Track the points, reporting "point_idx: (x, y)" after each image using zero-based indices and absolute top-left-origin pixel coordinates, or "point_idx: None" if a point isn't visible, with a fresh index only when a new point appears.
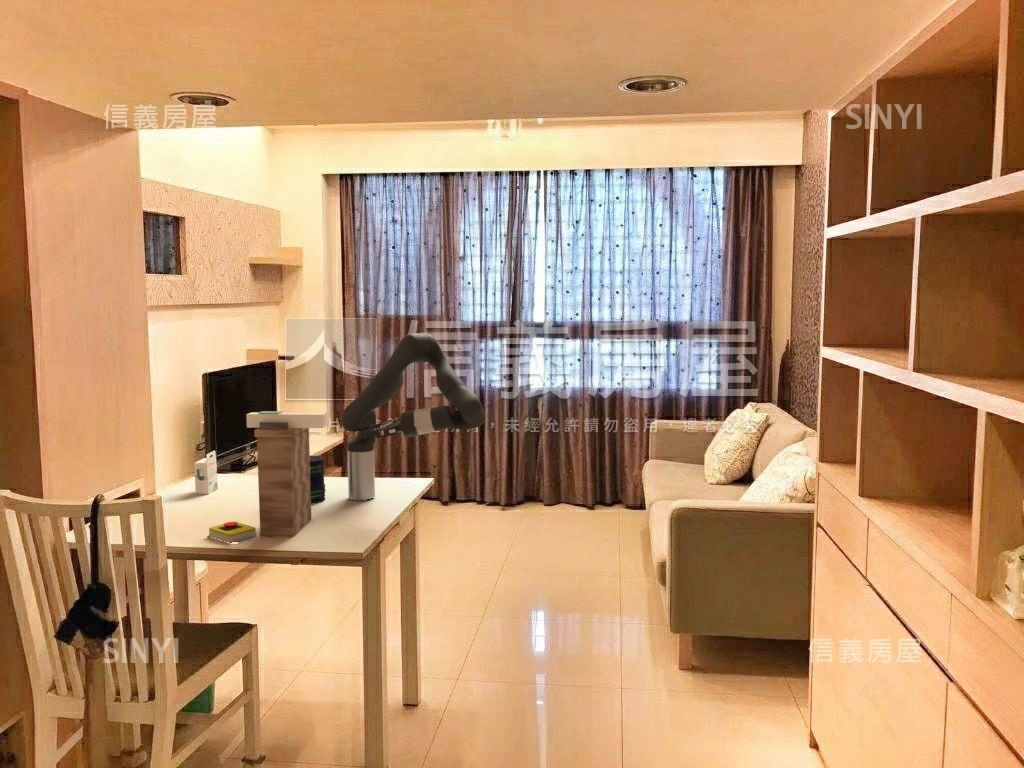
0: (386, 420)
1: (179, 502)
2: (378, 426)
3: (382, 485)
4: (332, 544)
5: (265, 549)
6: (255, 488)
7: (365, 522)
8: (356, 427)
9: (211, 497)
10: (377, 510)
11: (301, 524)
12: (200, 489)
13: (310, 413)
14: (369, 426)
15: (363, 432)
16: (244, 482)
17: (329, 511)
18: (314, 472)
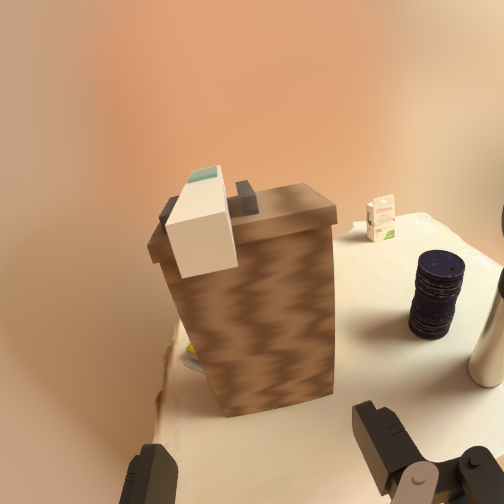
0: (478, 464)
1: (335, 243)
2: (379, 469)
3: None
4: (189, 491)
5: (162, 406)
6: (421, 253)
7: (355, 487)
8: None
9: (366, 248)
10: (445, 449)
11: (271, 404)
12: (369, 234)
13: (201, 200)
14: (353, 411)
15: (144, 452)
16: (428, 237)
17: (395, 385)
18: (431, 294)
